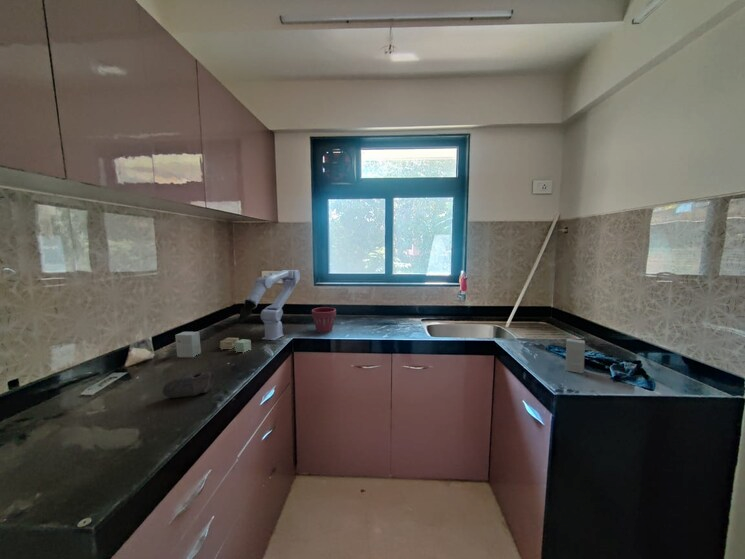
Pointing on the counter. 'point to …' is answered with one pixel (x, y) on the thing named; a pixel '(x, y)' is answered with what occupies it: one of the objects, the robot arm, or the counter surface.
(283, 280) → the robot arm
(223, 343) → the slab top
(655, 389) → the counter surface
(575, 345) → the skincare box
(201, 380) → the perforated stone tool
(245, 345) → the sage cube
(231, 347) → the slab bottom
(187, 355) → the small box
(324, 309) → the plant pot
